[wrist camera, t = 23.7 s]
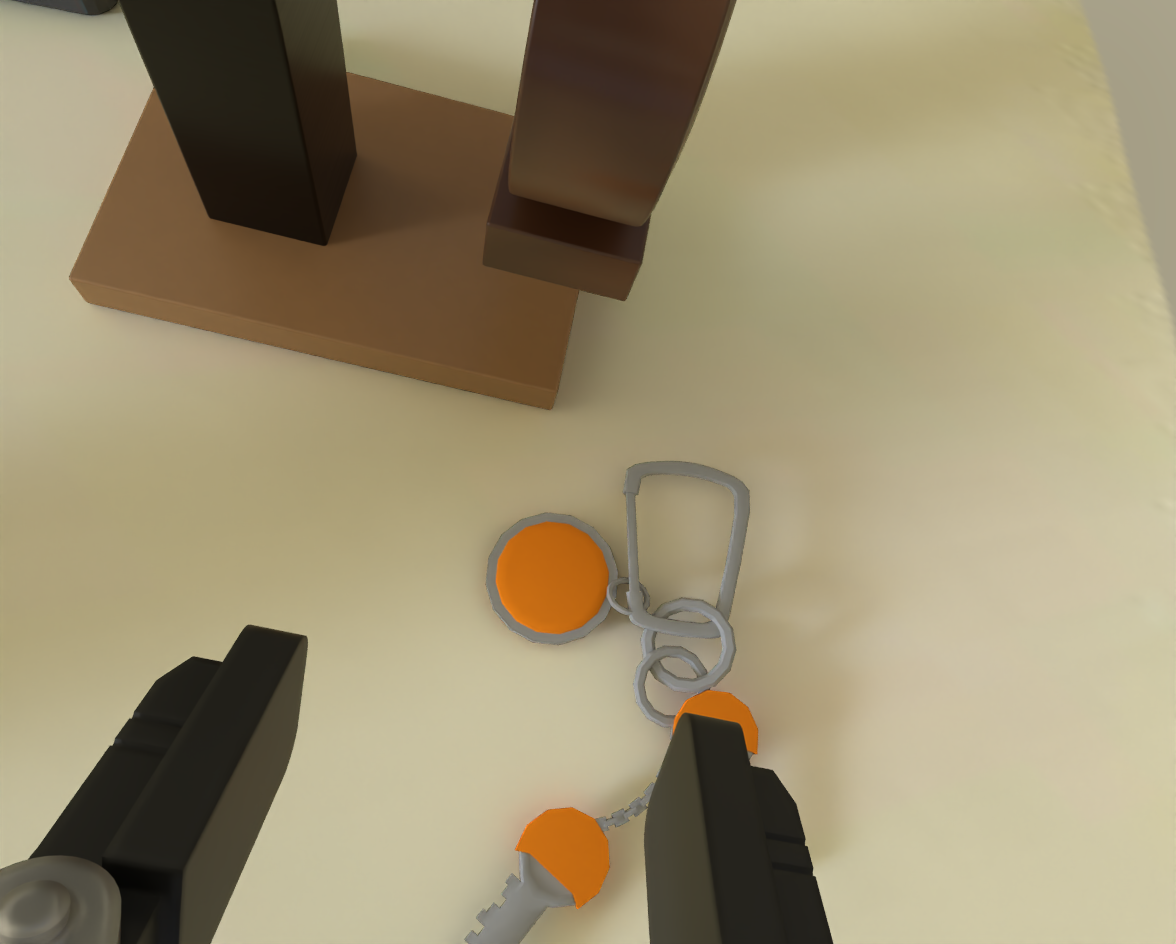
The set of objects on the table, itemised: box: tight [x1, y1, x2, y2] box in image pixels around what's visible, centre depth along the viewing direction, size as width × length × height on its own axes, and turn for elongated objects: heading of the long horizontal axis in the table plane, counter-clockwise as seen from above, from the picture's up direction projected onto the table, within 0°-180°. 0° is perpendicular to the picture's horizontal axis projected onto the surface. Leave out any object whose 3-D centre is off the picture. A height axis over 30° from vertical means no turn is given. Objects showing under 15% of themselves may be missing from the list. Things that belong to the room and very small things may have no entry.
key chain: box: [465, 461, 758, 944], centre depth 20 cm, size 13×7×1 cm, turn 173°
